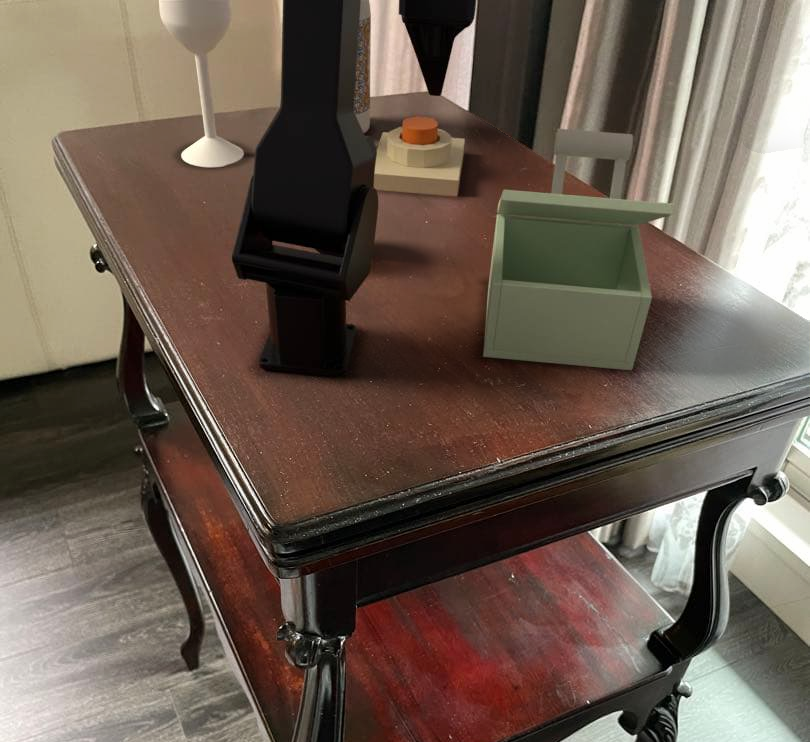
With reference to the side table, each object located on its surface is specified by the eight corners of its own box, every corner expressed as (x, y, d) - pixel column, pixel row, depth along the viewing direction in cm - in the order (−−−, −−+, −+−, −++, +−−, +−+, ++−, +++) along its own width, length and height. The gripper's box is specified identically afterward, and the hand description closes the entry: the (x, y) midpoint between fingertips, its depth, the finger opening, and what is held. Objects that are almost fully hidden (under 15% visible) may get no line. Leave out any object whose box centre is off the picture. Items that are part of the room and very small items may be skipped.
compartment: (631, 370, 64) (652, 297, 60) (483, 356, 65) (492, 283, 60) (621, 295, 72) (638, 225, 67) (488, 283, 72) (496, 213, 68)
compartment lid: (673, 214, 56) (687, 134, 54) (502, 200, 56) (511, 120, 55) (638, 225, 67) (649, 158, 66) (497, 213, 68) (504, 147, 66)
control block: (457, 197, 84) (460, 161, 82) (368, 189, 85) (368, 154, 82) (463, 154, 92) (466, 121, 89) (382, 148, 92) (382, 114, 90)
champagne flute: (240, 168, 87) (211, -123, 70) (175, 166, 87) (129, -127, 70) (248, 143, 92) (223, -136, 75) (187, 141, 92) (147, -139, 74)
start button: (435, 148, 85) (436, 130, 84) (400, 146, 85) (400, 128, 84) (438, 135, 87) (439, 117, 86) (404, 132, 87) (404, 115, 86)
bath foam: (376, 138, 94) (378, -80, 80) (315, 142, 93) (306, -79, 78) (362, 116, 99) (362, -94, 84) (304, 119, 97) (294, -94, 83)
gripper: (551, -102, 61) (522, 121, 73) (549, -143, 74) (525, 52, 86) (400, -111, 62) (395, 111, 73) (424, -150, 75) (416, 45, 86)
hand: (439, 78), depth 80 cm, fingers open, 9 cm apart
